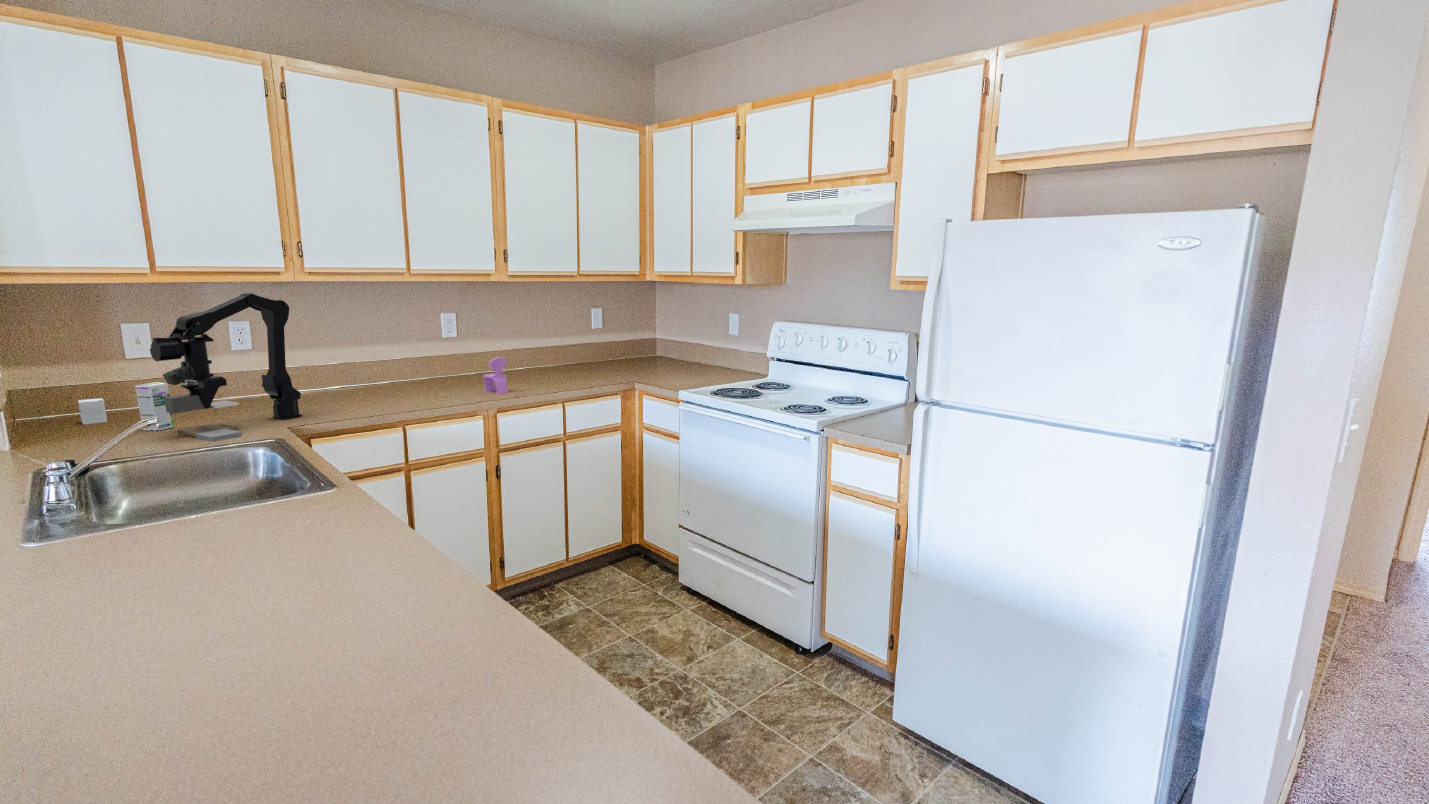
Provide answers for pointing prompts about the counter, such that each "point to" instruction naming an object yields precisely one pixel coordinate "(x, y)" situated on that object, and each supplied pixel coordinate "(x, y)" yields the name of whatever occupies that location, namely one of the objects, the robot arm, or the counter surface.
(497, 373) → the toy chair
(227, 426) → the plate
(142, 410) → the syrup box
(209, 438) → the tile
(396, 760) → the counter surface
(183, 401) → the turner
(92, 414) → the skincare box
